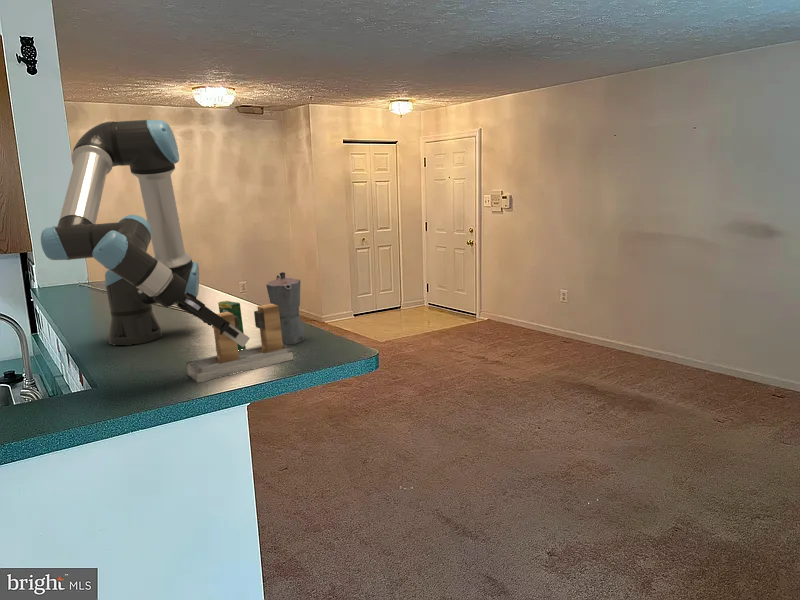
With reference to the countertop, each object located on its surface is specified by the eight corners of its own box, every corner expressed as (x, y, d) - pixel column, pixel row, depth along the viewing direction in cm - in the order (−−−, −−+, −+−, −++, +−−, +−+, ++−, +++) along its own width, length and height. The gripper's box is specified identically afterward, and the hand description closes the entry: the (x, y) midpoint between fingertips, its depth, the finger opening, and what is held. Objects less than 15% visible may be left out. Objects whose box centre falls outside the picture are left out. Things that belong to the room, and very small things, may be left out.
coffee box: (223, 346, 165) (217, 301, 162) (232, 344, 166) (226, 299, 164) (236, 351, 159) (230, 304, 156) (246, 349, 161) (240, 302, 158)
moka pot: (279, 350, 158) (271, 277, 154) (264, 338, 171) (257, 271, 167) (313, 343, 162) (306, 272, 158) (296, 332, 175) (289, 266, 171)
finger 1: (217, 362, 143) (211, 314, 140) (238, 357, 146) (232, 310, 143) (223, 365, 140) (217, 317, 137) (244, 360, 143) (238, 313, 140)
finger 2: (258, 353, 149) (252, 307, 146) (277, 348, 152) (272, 303, 149) (264, 356, 145) (258, 309, 143) (283, 351, 148) (278, 305, 146)
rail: (188, 374, 141) (186, 362, 140) (280, 353, 154) (278, 341, 154) (197, 382, 135) (196, 369, 134) (293, 359, 148) (291, 347, 147)
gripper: (142, 293, 138) (218, 344, 150) (162, 304, 122) (246, 360, 135) (162, 267, 140) (236, 320, 152) (184, 275, 124) (265, 334, 136)
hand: (240, 339), depth 143 cm, fingers open, 7 cm apart
